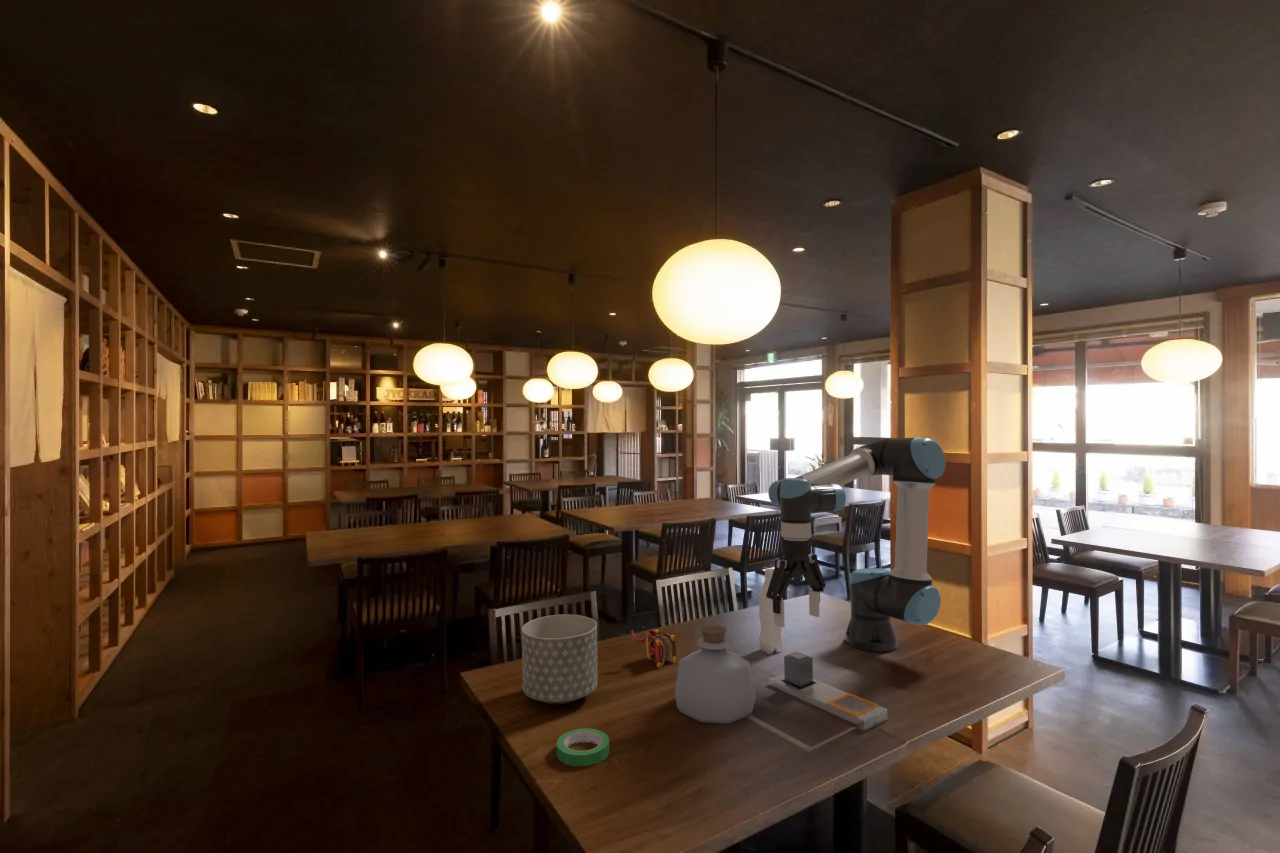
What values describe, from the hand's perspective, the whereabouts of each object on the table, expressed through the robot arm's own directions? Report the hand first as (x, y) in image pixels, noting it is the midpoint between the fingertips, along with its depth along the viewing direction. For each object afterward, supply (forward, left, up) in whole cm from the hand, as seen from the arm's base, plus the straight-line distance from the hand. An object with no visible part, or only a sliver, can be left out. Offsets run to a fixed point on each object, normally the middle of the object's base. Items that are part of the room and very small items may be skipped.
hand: (797, 620), depth 150 cm
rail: (0, +8, -18) cm, 20 cm away
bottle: (+23, -7, -18) cm, 30 cm away
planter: (+51, -34, -18) cm, 64 cm away
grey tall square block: (0, 0, -17) cm, 17 cm away
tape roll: (+59, -8, -19) cm, 62 cm away
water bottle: (-15, -23, -18) cm, 33 cm away
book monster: (+19, -38, -18) cm, 46 cm away
